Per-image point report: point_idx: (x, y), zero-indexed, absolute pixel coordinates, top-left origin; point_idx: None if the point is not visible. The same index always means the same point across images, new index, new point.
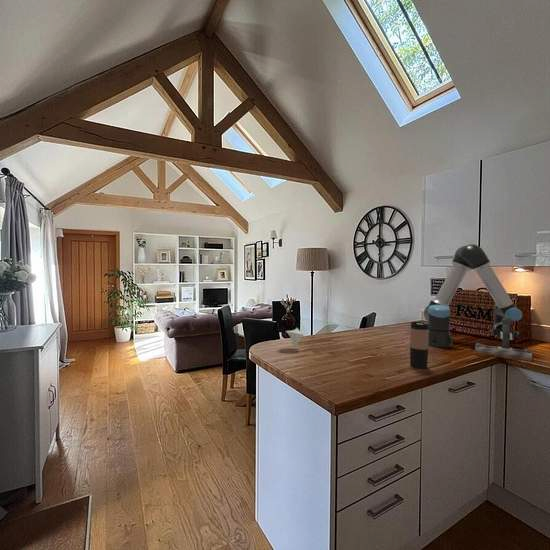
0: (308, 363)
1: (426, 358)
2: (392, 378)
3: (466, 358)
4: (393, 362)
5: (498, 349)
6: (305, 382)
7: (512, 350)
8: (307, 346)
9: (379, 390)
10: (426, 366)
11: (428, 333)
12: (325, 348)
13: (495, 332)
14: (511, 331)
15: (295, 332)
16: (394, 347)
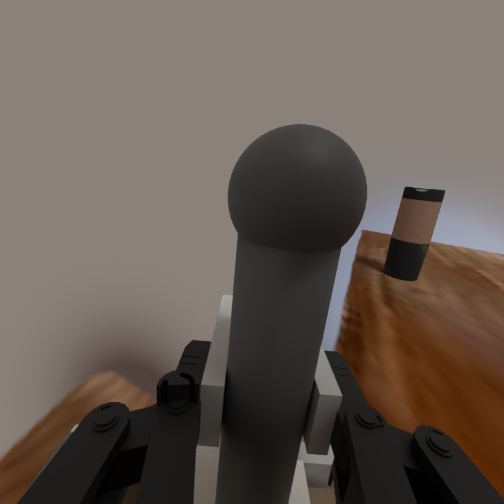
0: (480, 257)
1: (387, 253)
2: (377, 248)
3: (384, 348)
4: (441, 277)
5: (300, 449)
6: None
7: (197, 456)
8: None
9: (360, 237)
10: (384, 269)
11: (401, 206)
12: None
13: (405, 435)
14: (192, 376)
15: None
16: None
